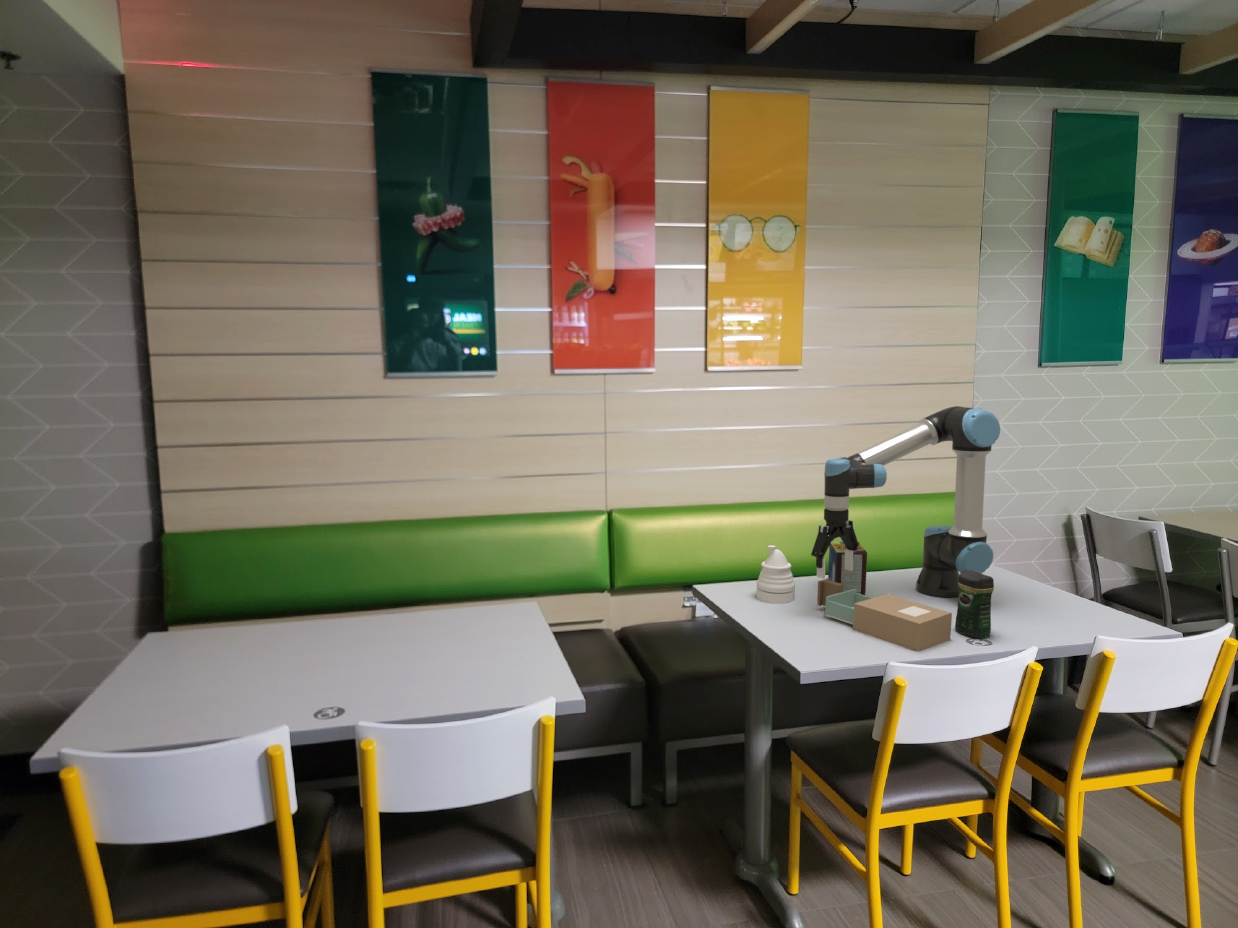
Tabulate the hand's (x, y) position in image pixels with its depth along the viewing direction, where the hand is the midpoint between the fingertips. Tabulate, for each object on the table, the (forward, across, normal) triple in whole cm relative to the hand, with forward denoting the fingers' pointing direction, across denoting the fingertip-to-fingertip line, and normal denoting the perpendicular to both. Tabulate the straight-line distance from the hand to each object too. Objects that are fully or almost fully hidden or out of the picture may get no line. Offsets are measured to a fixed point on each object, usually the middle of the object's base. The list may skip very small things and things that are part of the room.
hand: (834, 573), depth 258 cm
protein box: (+13, -22, -13) cm, 29 cm away
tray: (+12, +1, +10) cm, 15 cm away
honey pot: (+12, +5, -21) cm, 25 cm away
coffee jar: (+13, -17, +37) cm, 43 cm away
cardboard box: (+13, +1, +25) cm, 28 cm away
